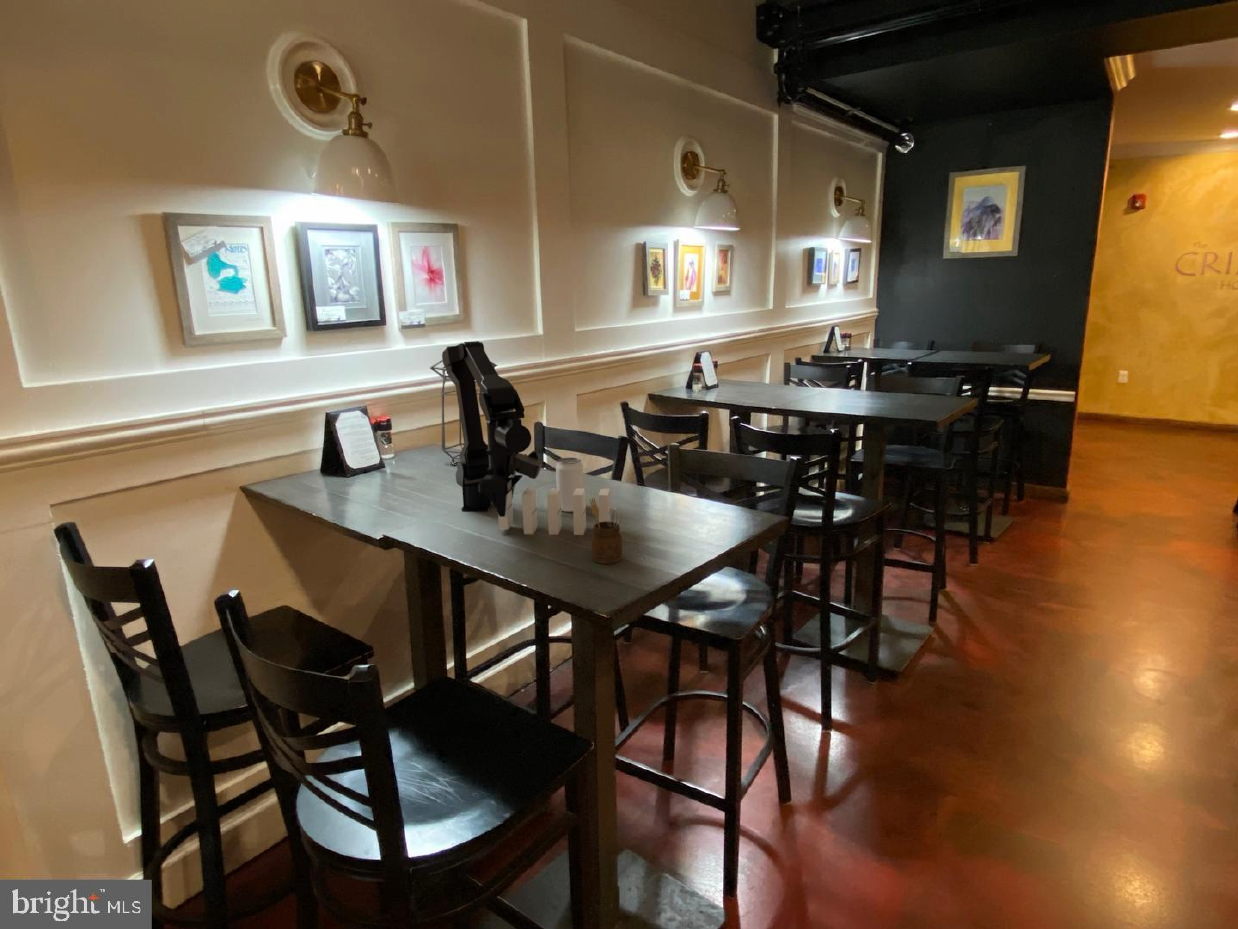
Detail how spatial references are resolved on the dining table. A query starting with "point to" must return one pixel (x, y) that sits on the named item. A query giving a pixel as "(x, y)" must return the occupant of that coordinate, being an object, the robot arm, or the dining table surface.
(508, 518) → the domino
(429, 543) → the dining table surface
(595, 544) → the utensil holder
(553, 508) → the domino
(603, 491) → the domino
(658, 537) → the dining table surface
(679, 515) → the dining table surface
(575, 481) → the can
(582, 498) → the domino
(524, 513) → the domino
